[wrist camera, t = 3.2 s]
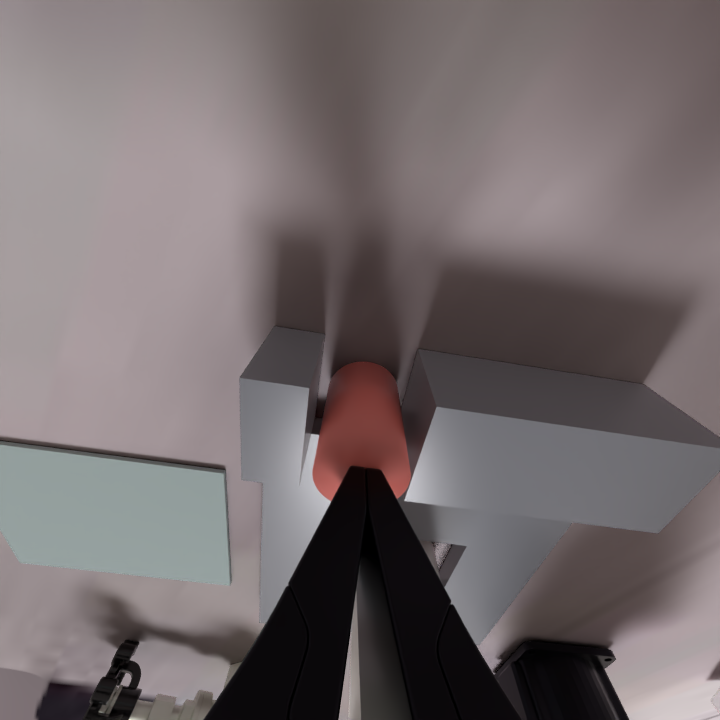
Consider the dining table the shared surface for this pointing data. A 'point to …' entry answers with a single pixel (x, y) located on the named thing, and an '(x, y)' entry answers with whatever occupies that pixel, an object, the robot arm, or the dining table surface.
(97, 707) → the valve
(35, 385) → the dining table surface
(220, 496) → the mat
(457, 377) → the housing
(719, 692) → the white circle with bar
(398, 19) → the dining table surface
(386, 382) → the plunger button
